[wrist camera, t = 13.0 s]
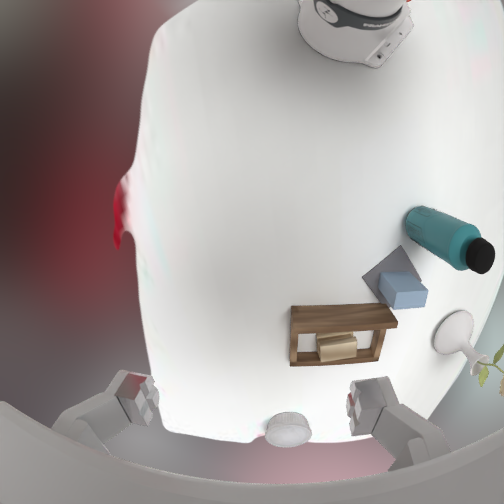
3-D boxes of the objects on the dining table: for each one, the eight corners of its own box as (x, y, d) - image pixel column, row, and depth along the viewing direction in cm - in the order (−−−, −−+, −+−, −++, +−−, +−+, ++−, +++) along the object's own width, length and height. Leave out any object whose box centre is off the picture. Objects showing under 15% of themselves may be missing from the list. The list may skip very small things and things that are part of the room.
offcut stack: (316, 332, 50) (318, 346, 46) (352, 327, 49) (357, 341, 45) (316, 348, 51) (319, 363, 47) (351, 343, 50) (356, 357, 46)
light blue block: (380, 272, 45) (396, 292, 37) (408, 271, 44) (428, 290, 37) (378, 287, 46) (393, 309, 38) (406, 286, 45) (424, 306, 37)
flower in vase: (445, 355, 50) (490, 428, 26) (422, 338, 49) (472, 421, 25) (480, 314, 46) (537, 377, 22) (460, 292, 45) (528, 361, 21)
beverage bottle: (396, 235, 43) (459, 283, 24) (405, 198, 41) (477, 226, 22) (425, 242, 43) (491, 289, 24) (434, 207, 40) (508, 239, 21)
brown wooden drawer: (291, 305, 49) (293, 327, 42) (385, 302, 47) (398, 322, 40) (289, 356, 52) (290, 380, 46) (374, 352, 51) (383, 374, 44)
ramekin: (318, 414, 58) (320, 430, 53) (296, 435, 62) (297, 450, 57) (278, 404, 58) (278, 421, 53) (259, 426, 61) (257, 442, 56)
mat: (400, 245, 43) (401, 245, 43) (421, 280, 45) (421, 280, 44) (362, 276, 46) (362, 277, 45) (385, 309, 47) (385, 310, 47)
